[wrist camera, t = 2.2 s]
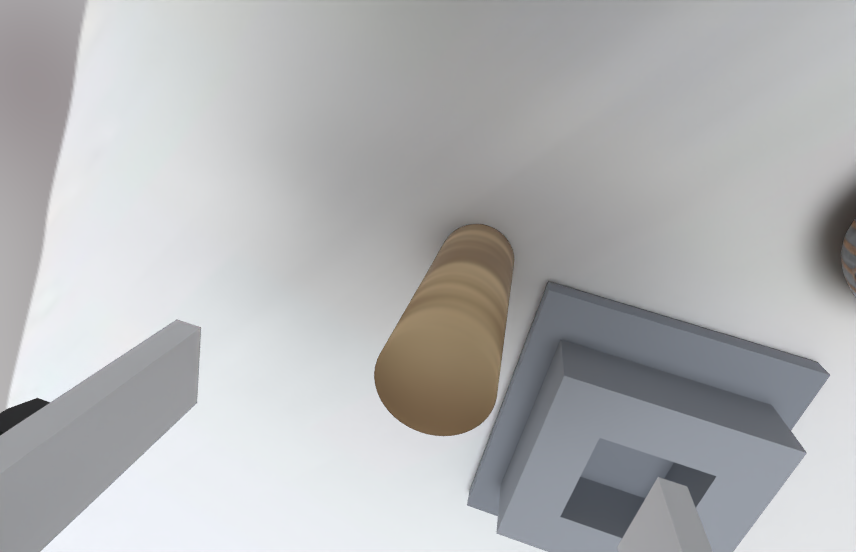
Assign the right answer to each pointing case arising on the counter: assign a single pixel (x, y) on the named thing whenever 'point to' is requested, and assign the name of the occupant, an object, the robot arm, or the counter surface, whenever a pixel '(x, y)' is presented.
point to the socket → (637, 425)
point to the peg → (451, 337)
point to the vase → (850, 257)
